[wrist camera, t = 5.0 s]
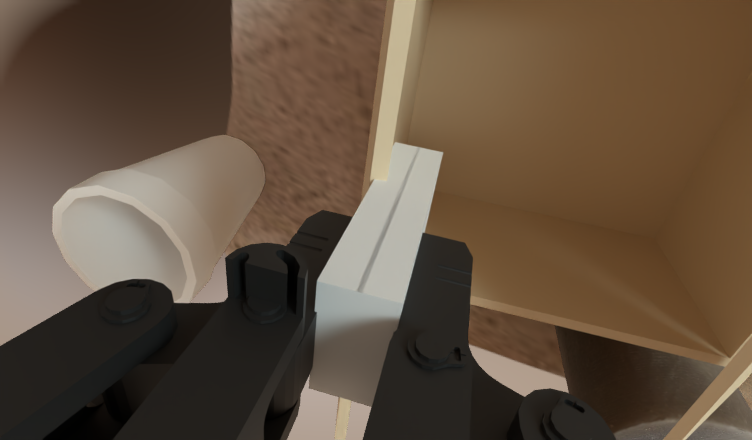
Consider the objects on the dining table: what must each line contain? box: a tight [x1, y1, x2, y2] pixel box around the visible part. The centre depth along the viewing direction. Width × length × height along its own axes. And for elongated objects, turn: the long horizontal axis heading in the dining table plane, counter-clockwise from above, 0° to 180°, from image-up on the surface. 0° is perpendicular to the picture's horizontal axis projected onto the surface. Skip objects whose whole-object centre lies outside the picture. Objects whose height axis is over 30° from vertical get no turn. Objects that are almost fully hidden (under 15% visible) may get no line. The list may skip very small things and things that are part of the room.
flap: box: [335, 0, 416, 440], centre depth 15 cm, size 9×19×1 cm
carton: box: [393, 0, 752, 367], centre depth 23 cm, size 20×19×12 cm
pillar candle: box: [555, 325, 752, 440], centre depth 29 cm, size 10×10×15 cm
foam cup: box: [52, 135, 266, 303], centre depth 31 cm, size 10×9×13 cm
